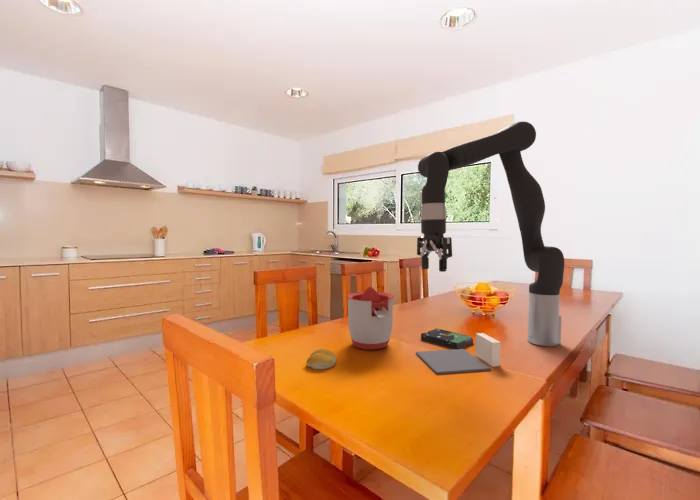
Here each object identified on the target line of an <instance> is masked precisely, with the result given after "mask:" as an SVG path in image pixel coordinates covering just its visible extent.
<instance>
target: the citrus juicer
mask: <svg viewBox="0 0 700 500" xmlns="http://www.w3.org/2000/svg"><path fill="white" fill-rule="evenodd" d="M394 298H395V297H394V295H393V294H391V293H389V292H388V293H387V292H383V291H377V290H375V289H374V287H372V286H369V287H367V288H366V289H365V291H358V292H357V291H356V292H352V293H349V294H347V320H348V321H347V322H348V323H347V324H348V332H349V334H350V335H349V336H350V339H351V343H352V344H353V346H354V347H356V348H358V349H362V350H363V351H369V350H380V349H383V348H386V347H387V346H388V344H389V343H390V340H391V335H392V331H393V330H392V329H393V325H394V324H393V323H394V322H393V319H394V317H393V315H394V313H393V309H394V307H393V306H394V302H393V301H394V300H393V299H394Z"/></svg>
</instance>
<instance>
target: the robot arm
mask: <svg viewBox="0 0 700 500" xmlns="http://www.w3.org/2000/svg"><path fill="white" fill-rule="evenodd" d="M536 138H537V131H536V129H535V126H533V124H532V123H530V122H528V121H517V122H514V123H512V124H510V125H508V126H505V127H503V128H502V129H500V130H499V131H498V132H496V133H494V134H491V135H487V136H484V137H481V138H478V139H473V140H471V141H467V142H464V143H461V144H457V145H455V146H452V147H450V148H448V149H446V150H443V151H433V152H431V153H429V154H426V155H424V156H423V157H422V158H420V160H419V161H418V164H417V170H418V173H419V174H420V175H421V176H422V177H423V178H426V183H425V185H424V186H423V187H422V190H421V210H420V212H421V213H420V223H421V224H420V230H421V231H420V232H421V234H423V236H418V237H417V241H416V255H417V256H420V258H421V269H423V270H429V268H430V264H429V263H430V262H429V261H430V260H429V259H430V258H429V256H430V253H432V252H435V254H437V257H438V258H439V259H438V271H439V272H445V273H446V272H447V269H448V266H447V265H448V258H452V257H453V243H452V241H453V239H452V237H450V236H449V237H448V236H447V237H445V236H444V235H445V234H446V232H447V211H446V210H447V209H446V186H447V182H448V177H449V173H450V171H453V170H457V169H462V168H465V167H467V166H471V165H473V164H476V163H478V162H481V161H484V160H486V159H488V158H490V157H491V158H492V157H493V156H495V155H499V157H500V161H501V164H502V166H503V169H504V172H505V174H506V179H507V183H508V186H509V190H510V194H511V199H512V204H513V208H514V211H515V214H516V218H517V223H518V228H519V231H520V237H521V242H522V243H521V244H522V252H523V259H524V262H525V265H526V267H527V268H528V269H529V270H530V271H531V272H535V273H537V280H535V281H534V282H531V283H530V284H529V285H528V309H527V310H528V313H527V315H528V319H527V341H528V342H529V343H530V344H534V345H536V346H543V347H556V346H558V345H561V344H562V342H561V341H562V340H561V339H562V316H561V315H560V291H561V289H562V286H563V284H564V283H563V282H564V273H565V272H564V271H565V256H564V253H563V251H562V250H561V249H560V248H559V247H556V246H545V243H544V240H543V237H542V223H543V220H544V217H545V212H546V202H545V198H544V194H543V190H542V187H541V185H540V184H539V181H537V180H536V178H535V177H534V176H533V175H532V174H531V173H530V171H528V169H527V167H526V165H525V163H524V160H523V156H522V152H523V151H525V150H527V149H529V148H530V147H531V146H532V145H533V144H534V143H535V141H536Z"/></svg>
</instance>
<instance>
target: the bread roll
mask: <svg viewBox="0 0 700 500" xmlns="http://www.w3.org/2000/svg"><path fill="white" fill-rule="evenodd" d="M336 362H337V357H336V355H335V354H334V352H333V351H332V350H330V349H327V348H319V349H316V350H314V351H313V352H311V353H310V355H309V357H308V358H307V360H306V366H307V367H308V368H310V367H311V369H314V370H318V369H319V370H325V369H326V370H327V369H330V368H333V367H334V366H335V365H336Z"/></svg>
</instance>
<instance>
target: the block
mask: <svg viewBox="0 0 700 500" xmlns="http://www.w3.org/2000/svg"><path fill="white" fill-rule="evenodd" d="M475 357H476V358H478V359H479V360H482V362H483V361H484V362H485V364H487V365H488V366H491V367H500V366H501V364H500V363H501V342H500V341H499V340H497V339H495V338H493V337H491V336H490V335H487V334H486V333H484V332H480V333H479V332H476V334H475Z"/></svg>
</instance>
